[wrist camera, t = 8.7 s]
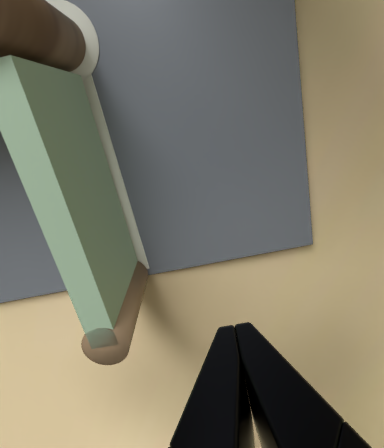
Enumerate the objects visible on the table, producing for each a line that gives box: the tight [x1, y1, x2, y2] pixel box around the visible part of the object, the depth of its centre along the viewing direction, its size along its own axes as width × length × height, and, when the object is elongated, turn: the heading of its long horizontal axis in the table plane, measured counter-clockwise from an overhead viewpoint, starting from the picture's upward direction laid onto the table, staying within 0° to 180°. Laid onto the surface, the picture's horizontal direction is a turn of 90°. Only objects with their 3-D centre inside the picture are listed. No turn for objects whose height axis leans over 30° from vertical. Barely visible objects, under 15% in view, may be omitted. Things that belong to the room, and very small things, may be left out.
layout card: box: [0, 0, 313, 303], centre depth 16 cm, size 20×28×1 cm
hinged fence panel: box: [0, 55, 148, 365], centre depth 14 cm, size 2×12×6 cm, turn 12°
